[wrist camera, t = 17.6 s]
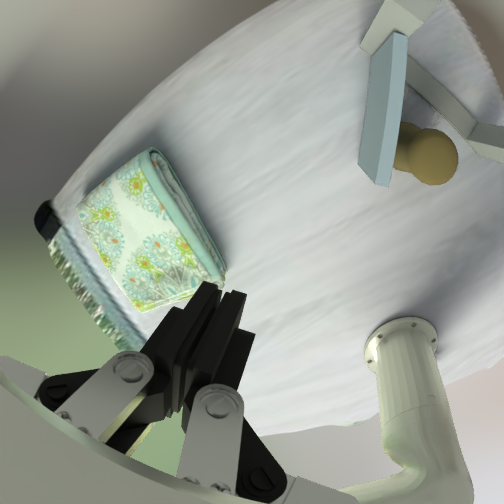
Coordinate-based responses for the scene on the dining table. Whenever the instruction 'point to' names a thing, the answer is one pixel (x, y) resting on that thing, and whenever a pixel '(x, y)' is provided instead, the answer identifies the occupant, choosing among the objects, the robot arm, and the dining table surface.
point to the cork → (425, 154)
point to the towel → (150, 233)
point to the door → (384, 109)
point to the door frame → (406, 22)
